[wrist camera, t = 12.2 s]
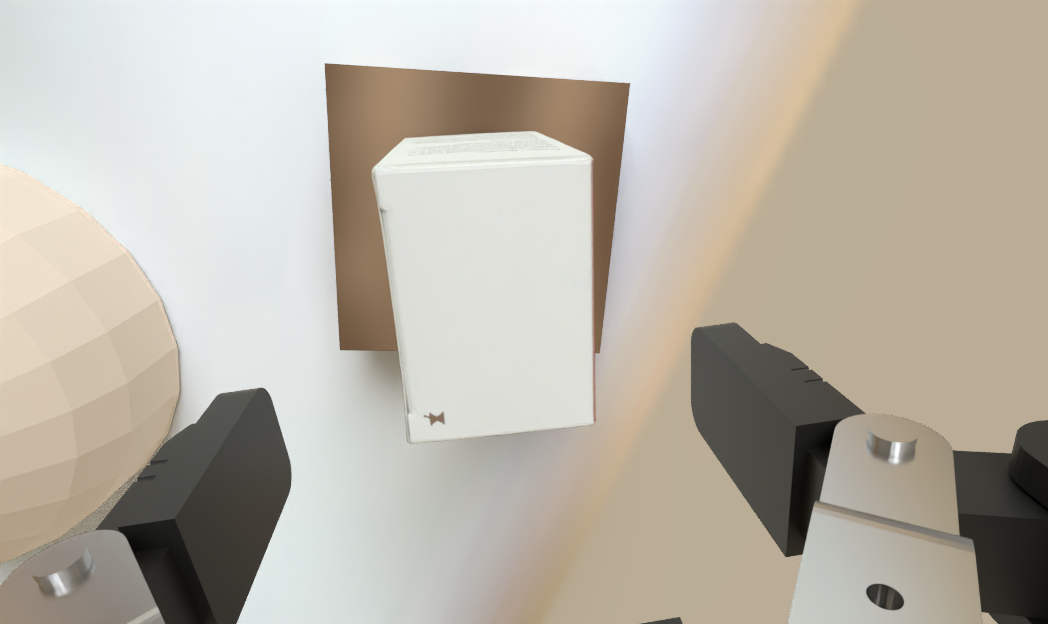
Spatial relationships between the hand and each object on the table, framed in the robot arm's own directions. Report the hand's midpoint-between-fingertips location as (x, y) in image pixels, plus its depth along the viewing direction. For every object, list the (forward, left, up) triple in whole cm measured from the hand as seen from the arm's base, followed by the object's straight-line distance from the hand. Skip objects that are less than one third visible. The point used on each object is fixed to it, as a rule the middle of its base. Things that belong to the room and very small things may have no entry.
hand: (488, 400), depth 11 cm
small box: (0, 0, -15) cm, 15 cm away
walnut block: (0, 0, -20) cm, 20 cm away
